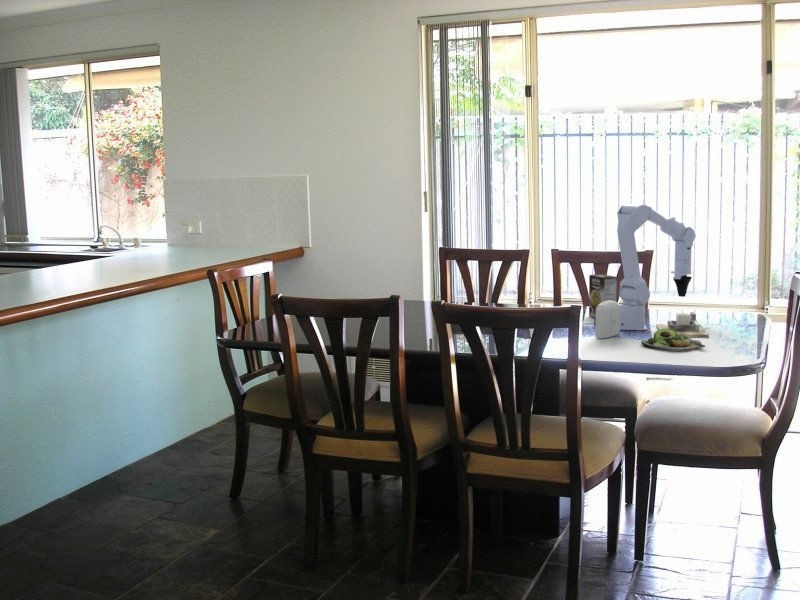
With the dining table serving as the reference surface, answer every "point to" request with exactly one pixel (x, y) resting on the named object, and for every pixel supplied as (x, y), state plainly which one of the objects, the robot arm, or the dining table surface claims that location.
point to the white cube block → (682, 319)
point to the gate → (694, 320)
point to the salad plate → (671, 341)
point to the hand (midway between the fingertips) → (681, 296)
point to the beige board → (684, 329)
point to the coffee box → (601, 291)
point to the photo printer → (607, 319)
